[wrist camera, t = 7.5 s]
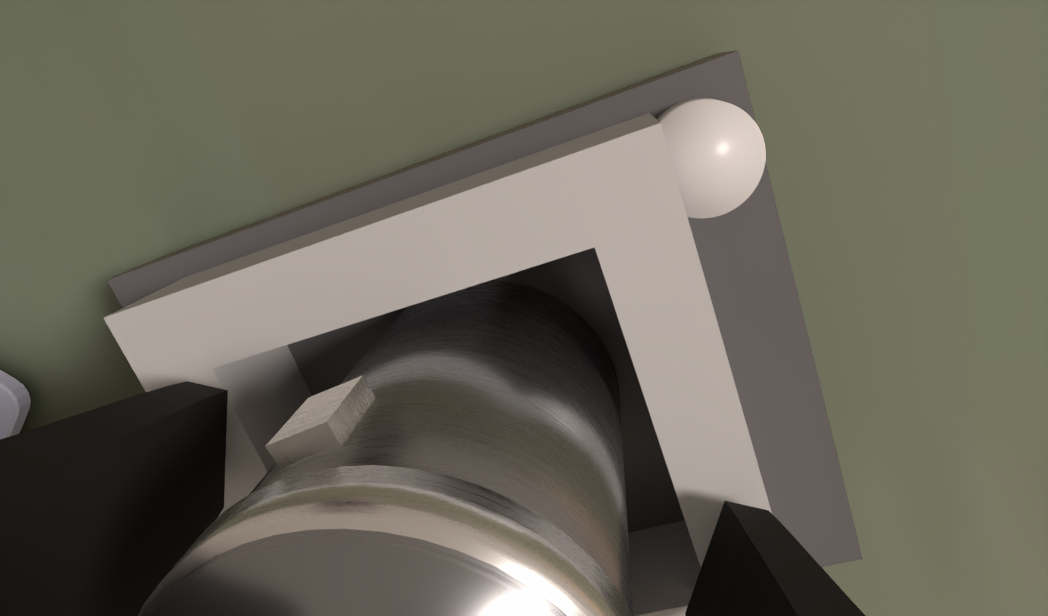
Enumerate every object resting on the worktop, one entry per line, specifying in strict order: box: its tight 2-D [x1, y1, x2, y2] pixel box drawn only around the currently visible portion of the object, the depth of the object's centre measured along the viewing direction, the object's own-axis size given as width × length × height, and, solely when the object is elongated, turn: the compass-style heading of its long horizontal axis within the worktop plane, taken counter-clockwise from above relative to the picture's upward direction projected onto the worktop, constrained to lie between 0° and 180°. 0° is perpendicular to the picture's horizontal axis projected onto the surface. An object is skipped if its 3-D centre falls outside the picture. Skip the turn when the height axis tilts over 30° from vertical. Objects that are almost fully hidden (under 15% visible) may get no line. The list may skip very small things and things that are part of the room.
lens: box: [138, 280, 633, 616], centre depth 9 cm, size 5×5×6 cm
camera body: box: [104, 50, 862, 616], centre depth 12 cm, size 11×9×4 cm
